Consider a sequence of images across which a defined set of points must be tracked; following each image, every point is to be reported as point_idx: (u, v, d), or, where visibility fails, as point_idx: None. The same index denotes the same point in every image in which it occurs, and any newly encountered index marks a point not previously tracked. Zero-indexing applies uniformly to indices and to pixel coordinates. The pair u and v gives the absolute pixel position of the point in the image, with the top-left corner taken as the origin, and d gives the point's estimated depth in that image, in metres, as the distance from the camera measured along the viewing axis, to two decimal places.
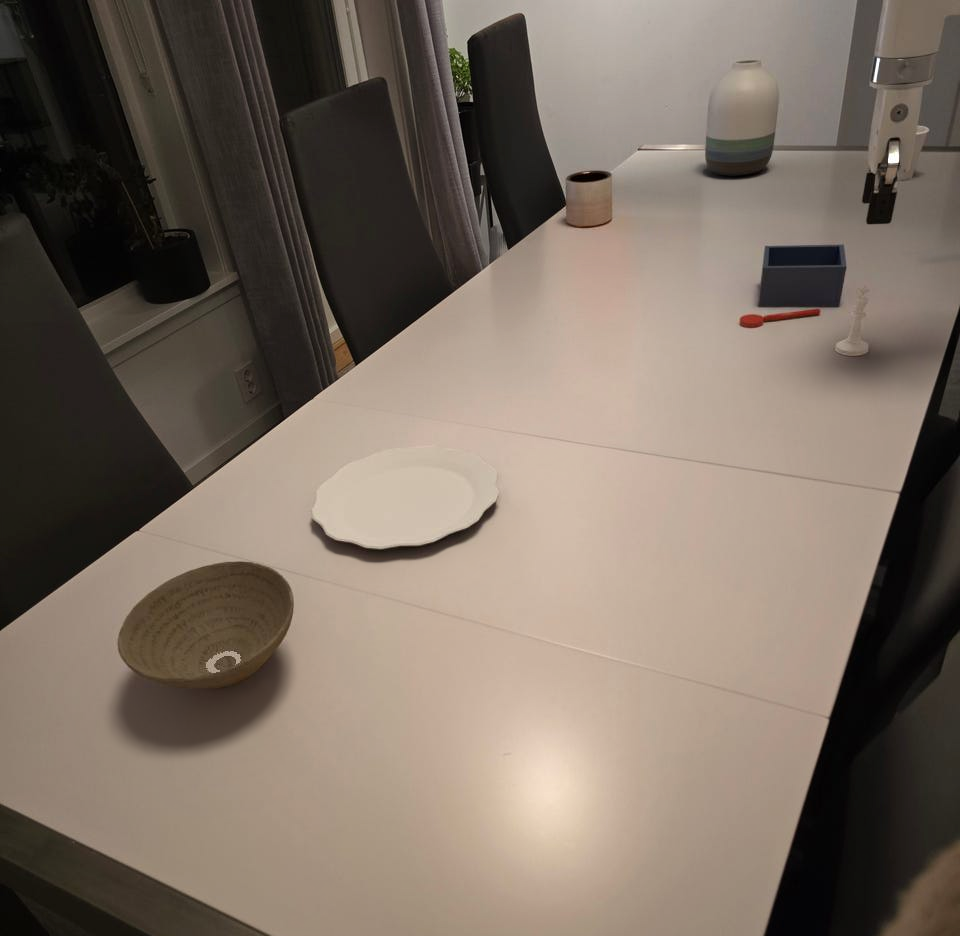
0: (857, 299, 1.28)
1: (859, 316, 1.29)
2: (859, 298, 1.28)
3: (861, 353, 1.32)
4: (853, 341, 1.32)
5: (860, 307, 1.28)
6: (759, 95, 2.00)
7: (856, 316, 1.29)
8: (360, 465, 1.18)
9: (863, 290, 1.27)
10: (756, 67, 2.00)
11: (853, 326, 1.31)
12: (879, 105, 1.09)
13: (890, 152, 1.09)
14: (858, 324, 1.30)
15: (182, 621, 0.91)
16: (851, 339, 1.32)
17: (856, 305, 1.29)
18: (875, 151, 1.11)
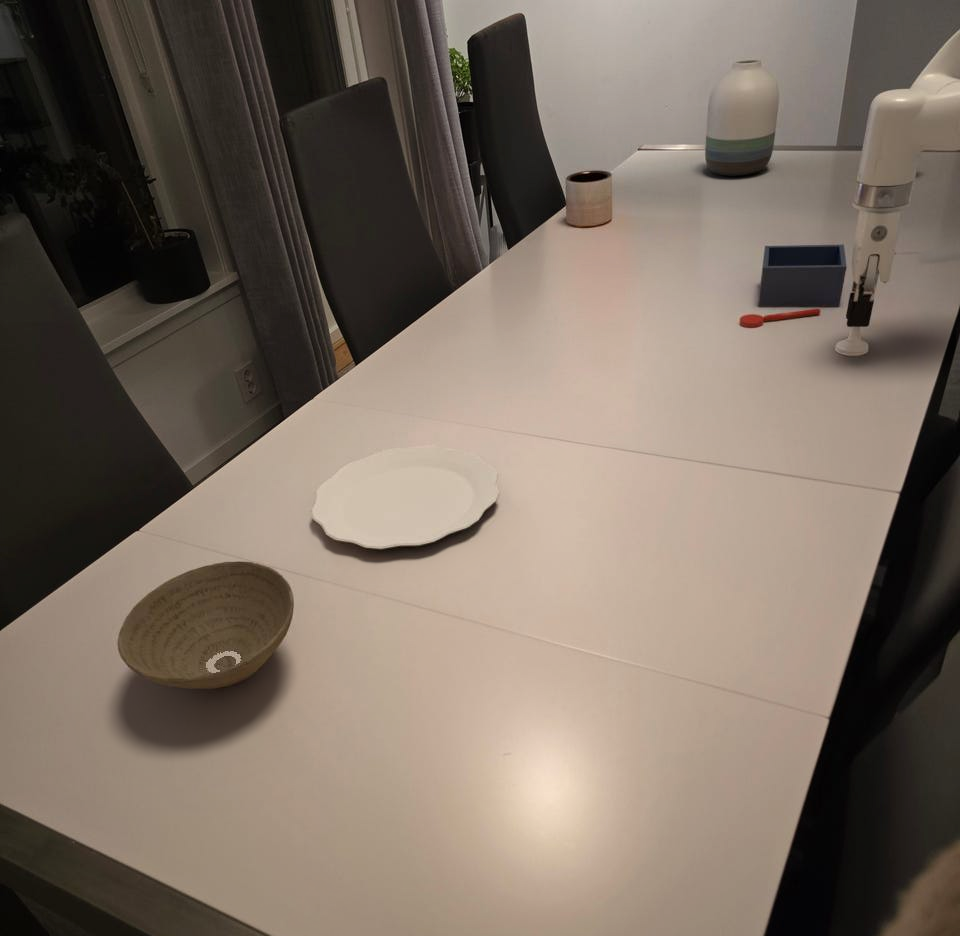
0: None
1: None
2: None
3: (861, 353, 1.32)
4: (853, 341, 1.32)
5: None
6: (759, 95, 2.00)
7: None
8: (360, 465, 1.18)
9: None
10: (756, 67, 2.00)
11: None
12: (861, 224, 1.19)
13: (867, 277, 1.21)
14: None
15: (182, 621, 0.91)
16: (851, 339, 1.32)
17: None
18: (857, 264, 1.21)
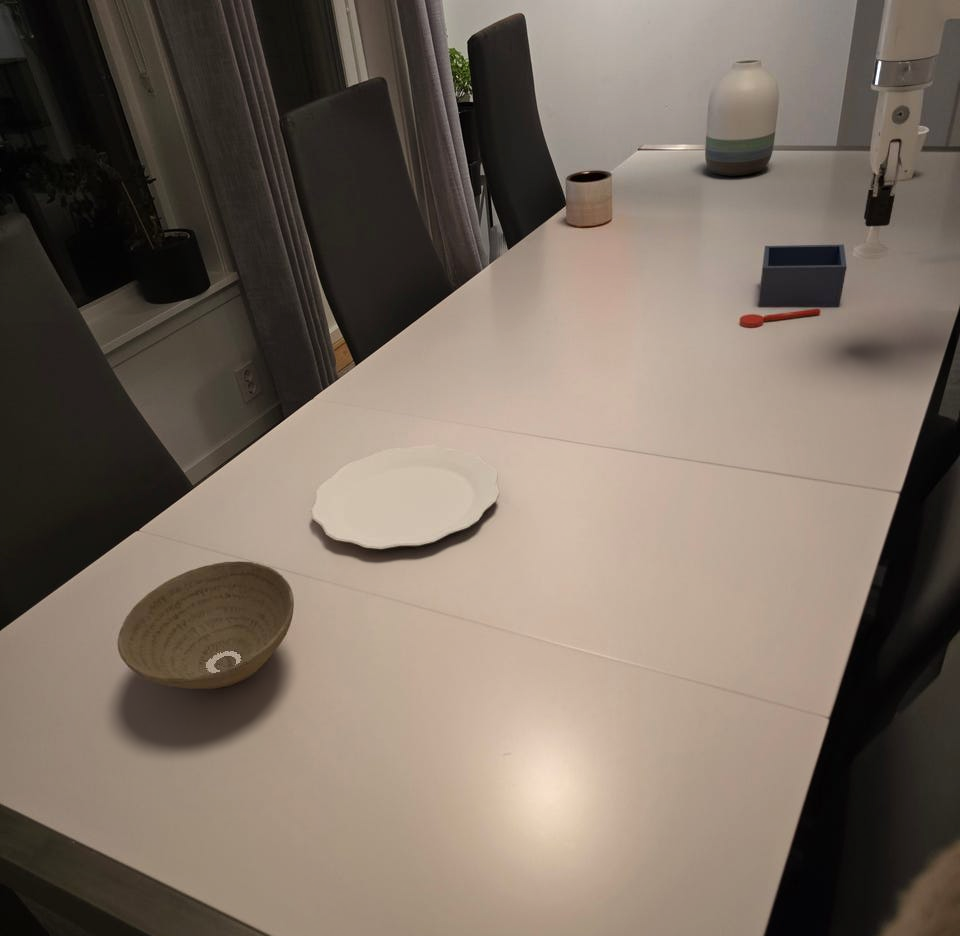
0: None
1: None
2: None
3: (881, 256, 1.23)
4: (872, 243, 1.23)
5: None
6: (759, 95, 2.00)
7: None
8: (360, 465, 1.18)
9: None
10: (756, 67, 2.00)
11: (872, 226, 1.22)
12: (881, 107, 1.11)
13: (888, 166, 1.13)
14: None
15: (182, 621, 0.91)
16: (870, 241, 1.23)
17: None
18: (877, 152, 1.13)
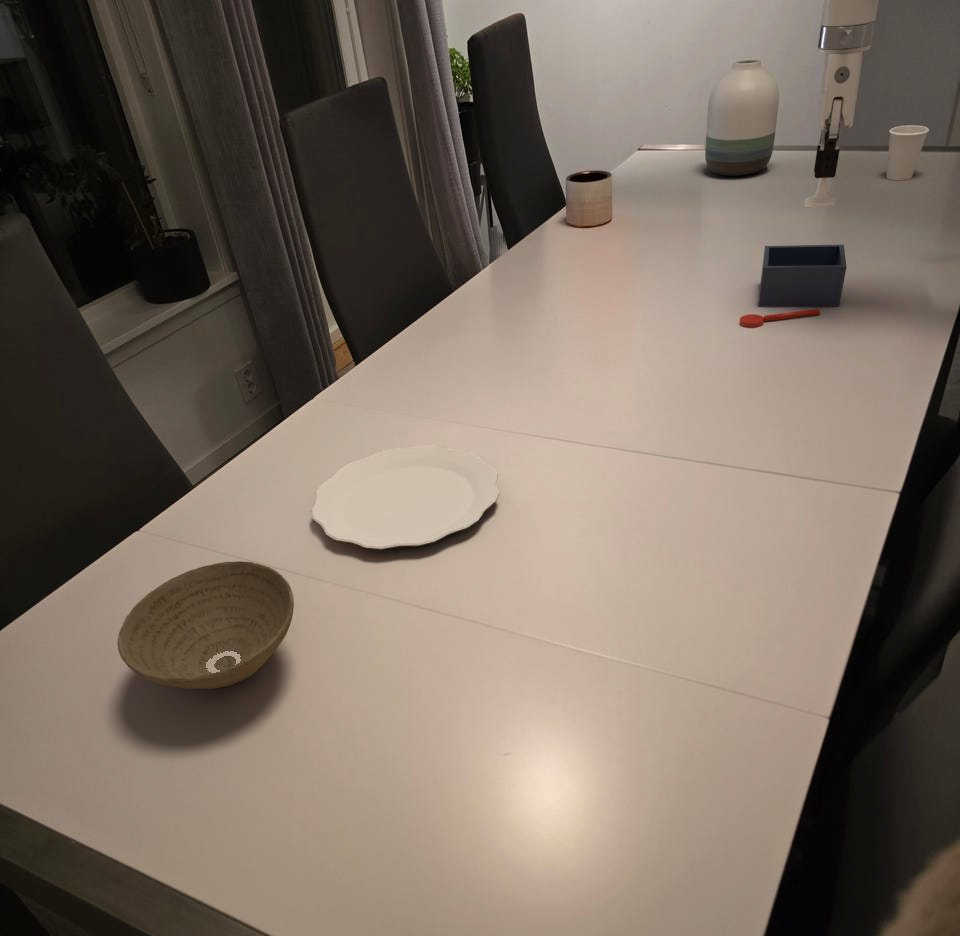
0: None
1: None
2: None
3: (828, 205, 1.38)
4: (821, 194, 1.38)
5: None
6: (759, 95, 2.00)
7: None
8: (360, 465, 1.18)
9: None
10: (756, 67, 2.00)
11: (820, 178, 1.37)
12: (825, 68, 1.25)
13: (831, 121, 1.27)
14: None
15: (182, 621, 0.91)
16: (819, 192, 1.38)
17: None
18: (822, 109, 1.27)
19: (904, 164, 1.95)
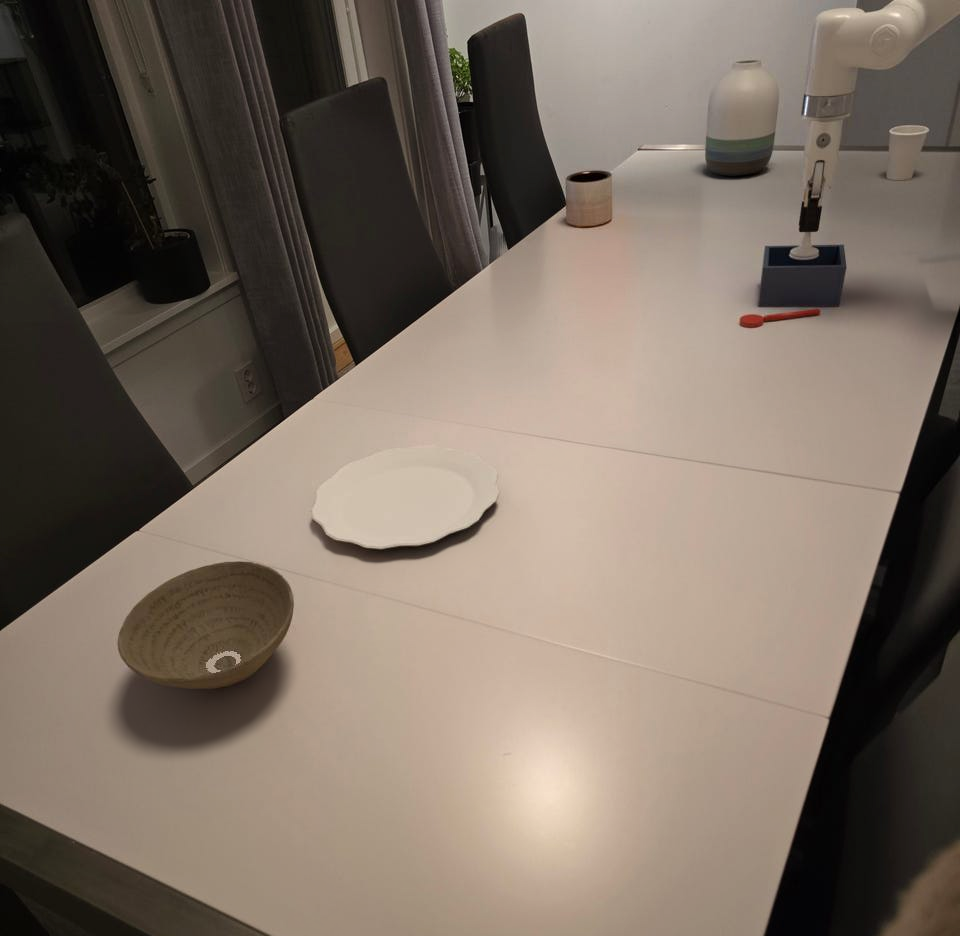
0: None
1: None
2: None
3: (812, 257, 1.46)
4: (805, 246, 1.46)
5: None
6: (759, 95, 2.00)
7: None
8: (360, 465, 1.18)
9: None
10: (756, 67, 2.00)
11: (804, 232, 1.45)
12: (808, 133, 1.34)
13: (814, 182, 1.36)
14: None
15: (182, 621, 0.91)
16: (803, 245, 1.46)
17: None
18: (805, 171, 1.36)
19: (904, 164, 1.95)
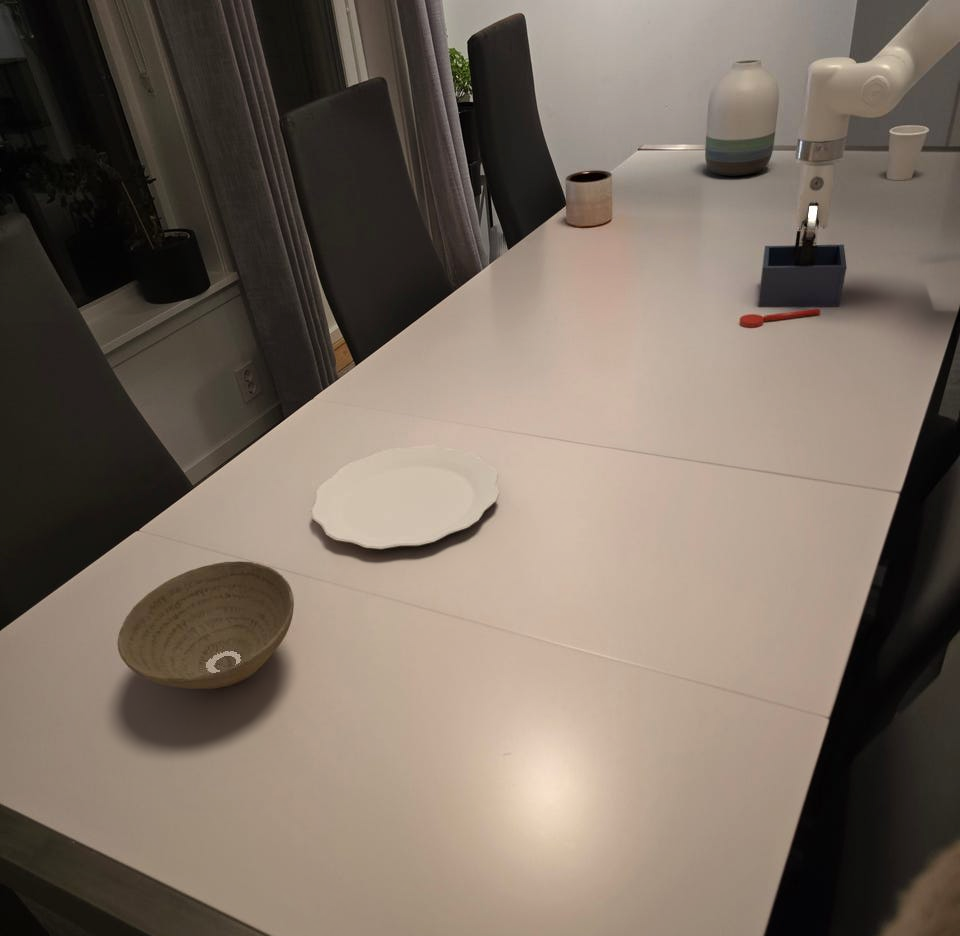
0: None
1: None
2: None
3: None
4: None
5: None
6: (759, 95, 2.00)
7: None
8: (360, 465, 1.18)
9: None
10: (756, 67, 2.00)
11: None
12: (802, 176, 1.38)
13: (809, 217, 1.38)
14: None
15: (182, 621, 0.91)
16: None
17: None
18: (799, 212, 1.40)
19: (904, 164, 1.95)
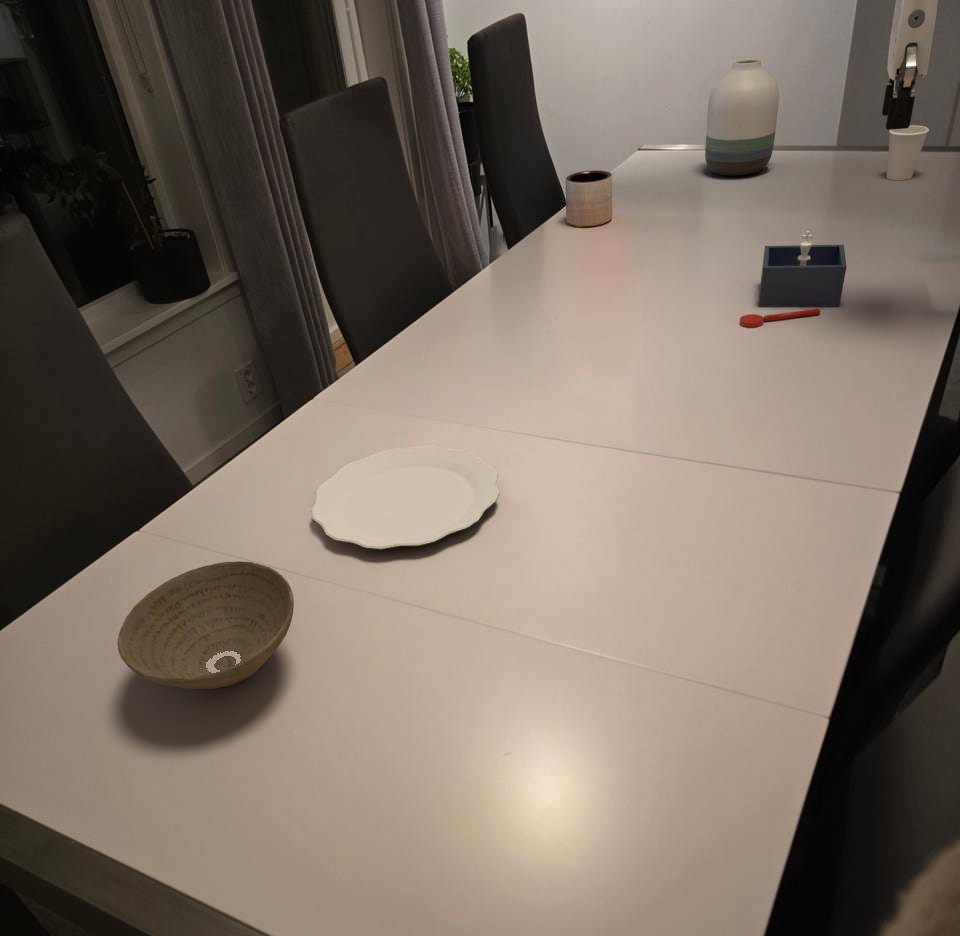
0: (802, 244, 1.46)
1: (804, 259, 1.48)
2: (804, 243, 1.46)
3: None
4: None
5: (805, 251, 1.47)
6: (759, 95, 2.00)
7: (802, 259, 1.48)
8: (360, 465, 1.18)
9: (807, 235, 1.46)
10: (756, 67, 2.00)
11: None
12: (897, 13, 1.17)
13: (908, 56, 1.16)
14: None
15: (182, 621, 0.91)
16: None
17: (801, 249, 1.47)
18: (894, 57, 1.19)
19: (904, 164, 1.95)
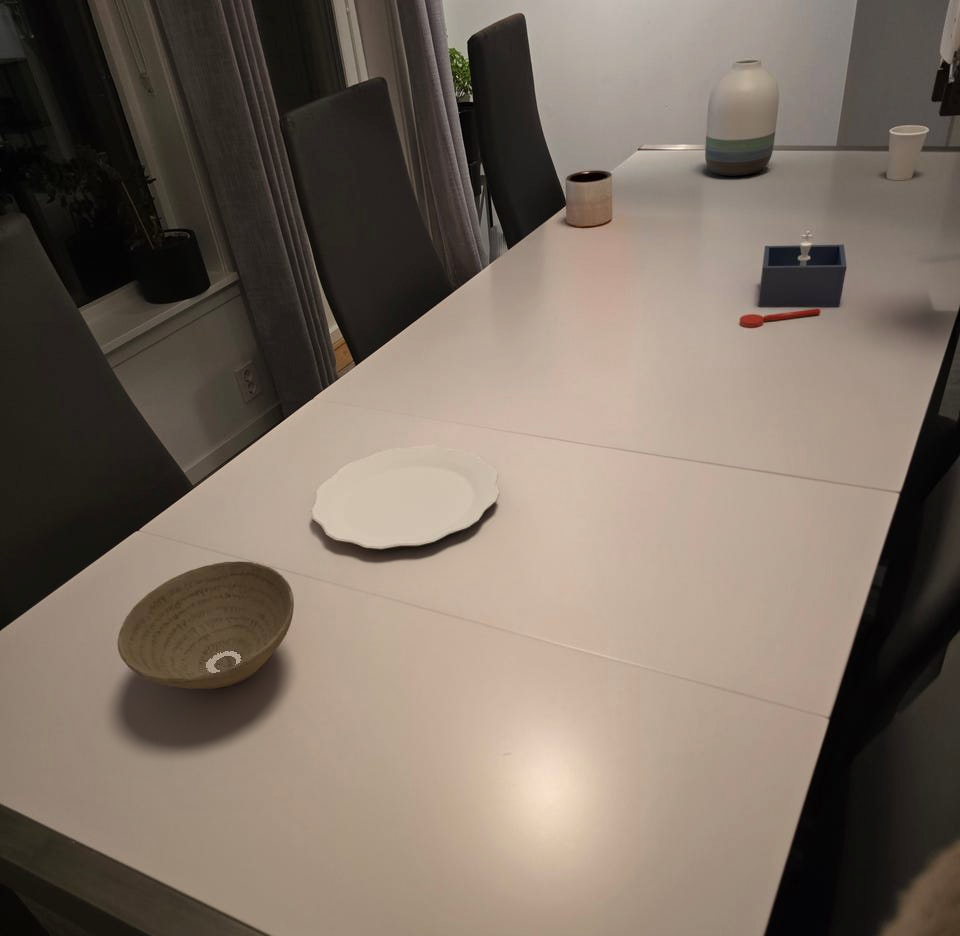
0: (802, 244, 1.46)
1: (804, 259, 1.48)
2: (804, 243, 1.46)
3: None
4: None
5: (805, 251, 1.47)
6: (759, 95, 2.00)
7: (802, 259, 1.48)
8: (360, 465, 1.18)
9: (807, 235, 1.46)
10: (756, 67, 2.00)
11: None
12: None
13: None
14: None
15: (182, 621, 0.91)
16: None
17: (801, 249, 1.47)
18: (952, 39, 1.13)
19: (904, 164, 1.95)
